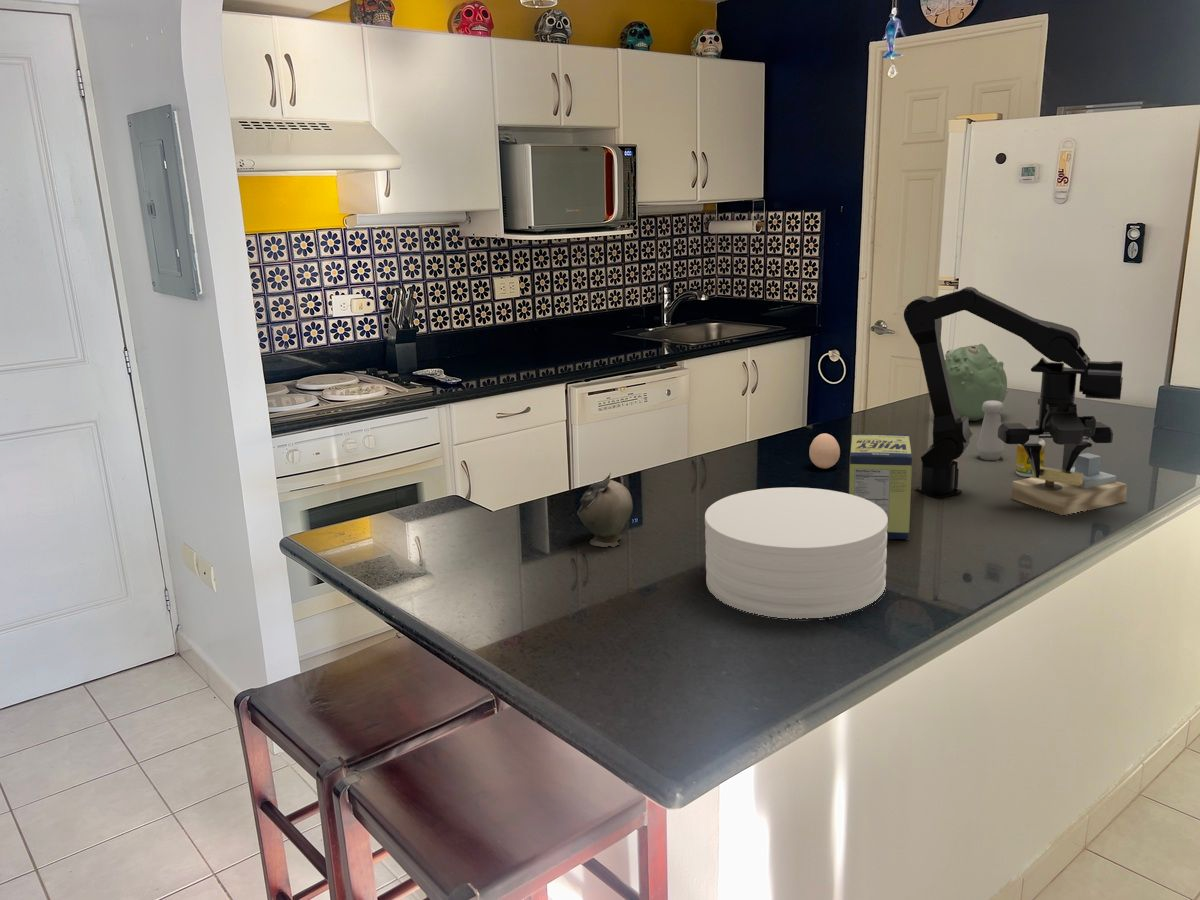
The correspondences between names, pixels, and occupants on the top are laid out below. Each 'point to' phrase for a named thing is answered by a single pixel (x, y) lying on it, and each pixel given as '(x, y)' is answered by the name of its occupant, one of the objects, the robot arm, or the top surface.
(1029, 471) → the supplement bottle
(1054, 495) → the birch box
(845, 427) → the top surface
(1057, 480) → the tan wooden bar
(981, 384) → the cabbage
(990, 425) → the salt shaker
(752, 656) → the top surface
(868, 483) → the protein box
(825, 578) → the plate stack
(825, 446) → the egg
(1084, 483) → the lid
